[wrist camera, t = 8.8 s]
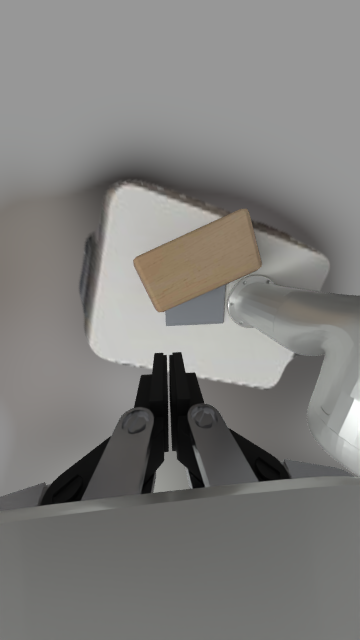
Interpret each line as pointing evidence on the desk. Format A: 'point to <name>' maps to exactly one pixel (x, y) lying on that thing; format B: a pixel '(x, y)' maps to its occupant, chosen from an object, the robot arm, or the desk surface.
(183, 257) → the wooden block
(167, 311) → the mat
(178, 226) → the desk surface
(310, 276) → the desk surface
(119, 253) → the desk surface
